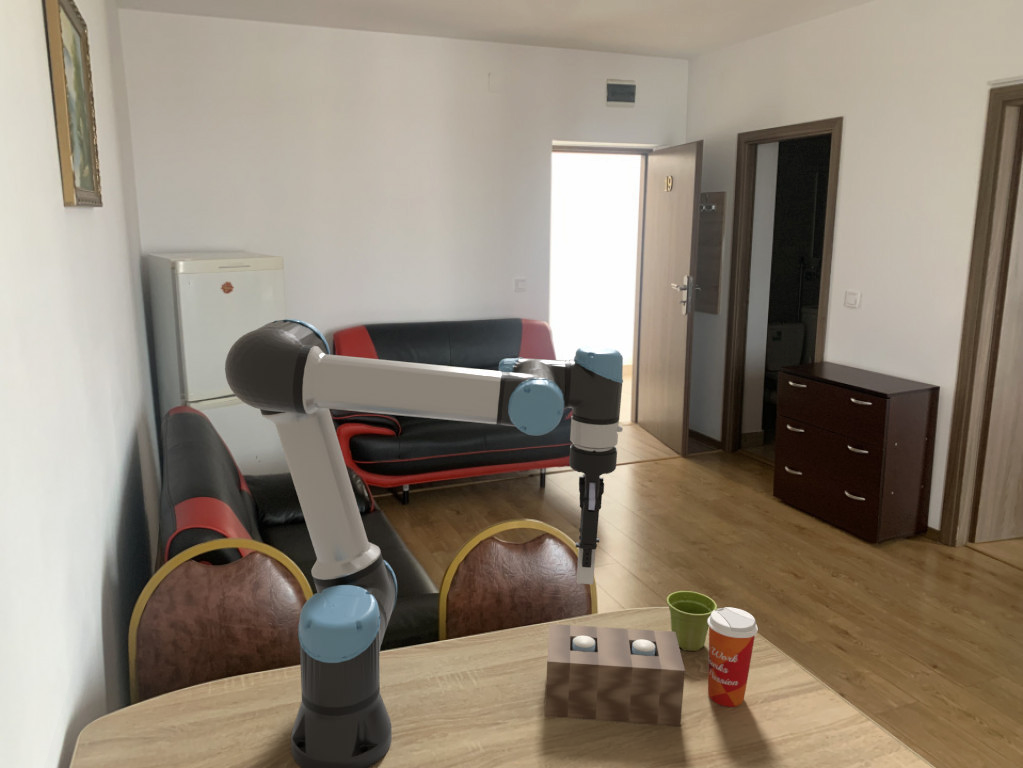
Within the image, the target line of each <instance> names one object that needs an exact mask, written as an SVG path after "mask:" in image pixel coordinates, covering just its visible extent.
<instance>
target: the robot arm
mask: <svg viewBox="0 0 1023 768" xmlns="http://www.w3.org/2000/svg"><path fill="white" fill-rule="evenodd" d="M623 360H624V358H623V355H622V354H621V353H620V351H618V350H617V349H613V348H609V347H605V346H604V347H602V346H591V347H590V346H583V347H580V348H578V349H577V350H575V356H574V357H573V359H569V360H567V359H566V360H560V359H559V360H558V359H544V358H543V359H541V358H540V359H539V358H524V357H522V356H521V357H516V358H515V357H514V358H511V357H510V358H503V359H501V360H500V361H499V363H498V370H493V369H492V370H490V369H482V368H481V369H480V368H471V367H461V366H449V365H441V364H439V365H438V364H430V363H429V364H428V363H421V362H420V363H419V362H407V361H399V360H389V359H388V360H387V359H381V358H380V359H379V358H378V359H377V358H370V357H369V358H368V357H357V356H347V355H336V354H331V349H330V346H329V343H328V341H327V339H326V337H325V336H324V334H322V332H321V331H320V330H319V329H318V328H317V327H315V326H314V325H313V324H311V323H309V322H307V321H304V320H301V319H295V318H288V319H287V318H286V319H280V320H278V319H277V320H274V321H272V322H271V321H270V322H268V323H266V324H264V325H262V326H261V327H258V328H257V329H254V330H251V331H249V332H247V333H245V334H243V335H241V337H239V338H238V339H237V340H236V341H235V342H234V343H233V344H232V346H231V347H230V349H229V351H228V353H227V355H226V359H225V363H224V372H225V379H226V382H227V384H228V386H229V388H230V390H231V392H232V393H233V394H234V395H235V397H237V398H238V399H239V400H241V402H242V403H245V404H247V406H249V407H252V408H254V409H258V410H260V414H261V416H262V417H263V418H266V419H267V420H269V421H271V422H273V423H274V424H275V427H276V431H277V434H278V437H279V441H280V443H281V446H282V447H281V448H282V449H283V453H284V455H285V459H286V464H287V466H288V469H289V472H290V475H291V479H292V482H293V485H294V489H295V491H296V495H297V497H298V501H299V504H300V508H301V511H302V513H303V517H304V521H305V524H306V527H307V531H308V532H309V533H308V534H309V537H310V540H311V543H312V546H313V549H314V553H315V556H316V561H315V563H314V565H312V568H311V571H310V572H311V576H312V579H313V582H314V585H315V588H316V591H317V593H314V594H313V595H312V596H310V597H309V598H308V599H307V600H306V602H305V603H304V604H303V606H302V608H301V610H300V614H299V622H298V627H297V628H298V633H297V634H298V635H297V636H298V641H299V657H300V661H299V662H300V663H299V664H300V685H301V686H300V687H301V688H300V689H301V701H300V706H299V708H298V711H297V714H296V718H295V721H294V724H293V727H292V728H291V729H292V730H291V735H290V747H291V748H290V749H291V750H290V751H291V755H292V758H293V759H294V761H295V762H296V763H297V765H299V766H300V767H301V768H369V767H372V766H373V765H374V764H376V763H377V762H378V761H380V760H381V759H382V758H384V756H385V755H386V753H387V752H388V751H389V749H390V746H391V745H392V737H393V735H392V732H393V731H392V722H391V721H392V720H391V718H390V715H389V712H388V709H387V708H386V704H385V702H384V700H383V697H382V695H381V691H380V690H381V689H380V688H381V687H380V683H381V682H380V679H381V678H380V676H381V675H380V673H381V672H380V658H381V657H380V653H381V645H382V644H383V640H384V636H385V633H386V631H387V627H388V625H389V622H390V619H391V615H392V612H393V611H394V609H395V607H396V603H397V599H398V597H397V595H398V582H397V577H396V574H395V572H394V570H393V568H392V567H391V565H390V564H389V563H388V561H386V560H385V559H384V558H383V556H382V552H381V551H382V550H381V549H380V547H379V546H378V545H376V544H374V543H372V542H369V540H368V537H367V533H366V530H365V527H364V523H363V520H362V516H361V513H360V510H359V507H358V503H357V499H356V495H355V492H354V489H353V485H352V482H351V479H350V476H349V473H348V472H349V471H348V468H347V466H346V462H345V459H344V455H343V451H342V449H341V445H340V442H339V438H338V436H337V435H338V434H337V432H336V428H335V425H334V424H335V423H334V421H333V418H332V414H331V411H330V410H331V409H332V410H340V411H350V412H351V411H352V412H361V413H370V414H371V413H373V414H382V415H384V414H385V415H394V416H404V417H413V418H424V419H425V418H426V419H428V418H429V419H436V420H437V419H438V420H448V421H457V422H470V423H480V424H489V425H500V426H501V425H502V426H508V427H515V428H517V430H519V431H520V432H522V433H524V434H526V435H529V436H536V437H537V436H543V435H547V434H548V433H550V432H552V431H553V430H554V429H555V428H556V427H557V426H558V425H559V424H560V422H561V421H562V417H563V415H564V410H565V409H568V408H569V409H572V413H571V421H570V422H571V423H570V434H569V435H570V436H569V438H570V439H569V441H570V442H571V443H572V444H570V447H569V459H568V460H569V461H568V464H569V467H570V469H572V470H573V471H574V472H577V473H582V476H581V475H579V477H578V492H579V508H580V509H581V510H580V524H579V525H580V526H579V529H578V531H579V537H578V539H579V541H578V542H577V541H576V542H575V548H578V555H577V571H576V584H583V585H594V578H595V563H596V550H597V547H598V544H597V543H600V537H598V529H599V516H600V510H601V508H602V498H603V494H604V492H605V483H604V477H600V476H602V475H609V474H611V473H613V472H615V470H616V469H617V462H618V461H617V460H618V449H617V447H616V446H617V445H618V441H619V433H621V432H623V425H619V424H620V416H621V403H622V390H623V382H624V378H623V374H624V373H623V370H624V369H623V365H624V361H623Z"/></svg>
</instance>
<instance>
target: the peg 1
mask: <svg viewBox="0 0 1023 768" xmlns="http://www.w3.org/2000/svg"><path fill="white" fill-rule="evenodd" d="M572 651H584V652H595V640H594V639H593V638H591V637H588V636H577V637H575V638H574V639H573V645H572Z"/></svg>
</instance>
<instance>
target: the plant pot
mask: <svg viewBox="0 0 1023 768" xmlns="http://www.w3.org/2000/svg"><path fill="white" fill-rule="evenodd" d="M666 603H667V605H668V609H669V612H670V625H671V626H670V627H671V632H675V633H676V637H677V641H678V645H679V648H681V649H682V650H684V651H689V652H696V651H700V650H701V649H702V648H703V647H704V646H705V643H706V639H707V634H708V632H709V625H708V618H709V617H710V616H711V613H712V612H713V611H714V610H715V611H717V610H716V609H718V608H717V607H718V605H717V603H716V602H715V600H713V598H711V597H709V596H707V595H706V594H703V593H699V592H697V591H691V590H690V591H689V590H679V591H675V592H672V593H670V594H668V596H667V597H666Z"/></svg>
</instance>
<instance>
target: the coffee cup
mask: <svg viewBox="0 0 1023 768" xmlns="http://www.w3.org/2000/svg"><path fill="white" fill-rule="evenodd" d="M708 625H709V627H708V633H709V634H708V660H707V662H708V668H707V694H708V697H709V699H710V700H711V701H712V702H713V703H715V704H717V705H719V706H722V707H725V708H726V707H727V708H735V707H739V706H740V705H742V704H743V703H744V700H745V695H746V689H747V684H748V678H749V673H750V667H751V666H750V665H751V661H752V655H753V648H754V642H755V636H756V635H757V632H758V631H759V629H758V625H757V622H756V619H755V617H754V616H753V615H752V614H751V613H750V612H748V611H746V610H743V609H741V608H735V607H731V606H729V607H728V606H727V607H725V606H724V607H721V608H717V609H716V611H715V610H714V611H713V612H712V613H711V616H710V617H709V618H708Z"/></svg>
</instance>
